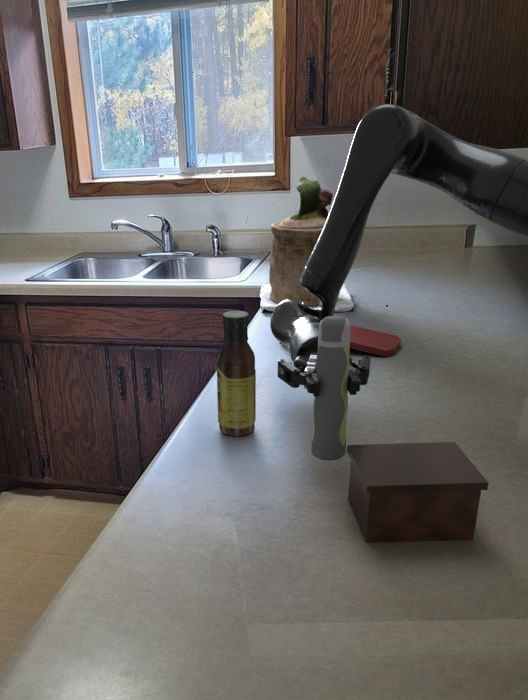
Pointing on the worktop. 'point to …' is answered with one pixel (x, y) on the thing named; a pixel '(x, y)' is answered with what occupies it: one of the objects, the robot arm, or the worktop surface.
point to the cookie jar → (298, 250)
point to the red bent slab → (373, 341)
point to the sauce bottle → (236, 377)
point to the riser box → (414, 491)
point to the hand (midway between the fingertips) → (335, 388)
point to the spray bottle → (331, 389)
